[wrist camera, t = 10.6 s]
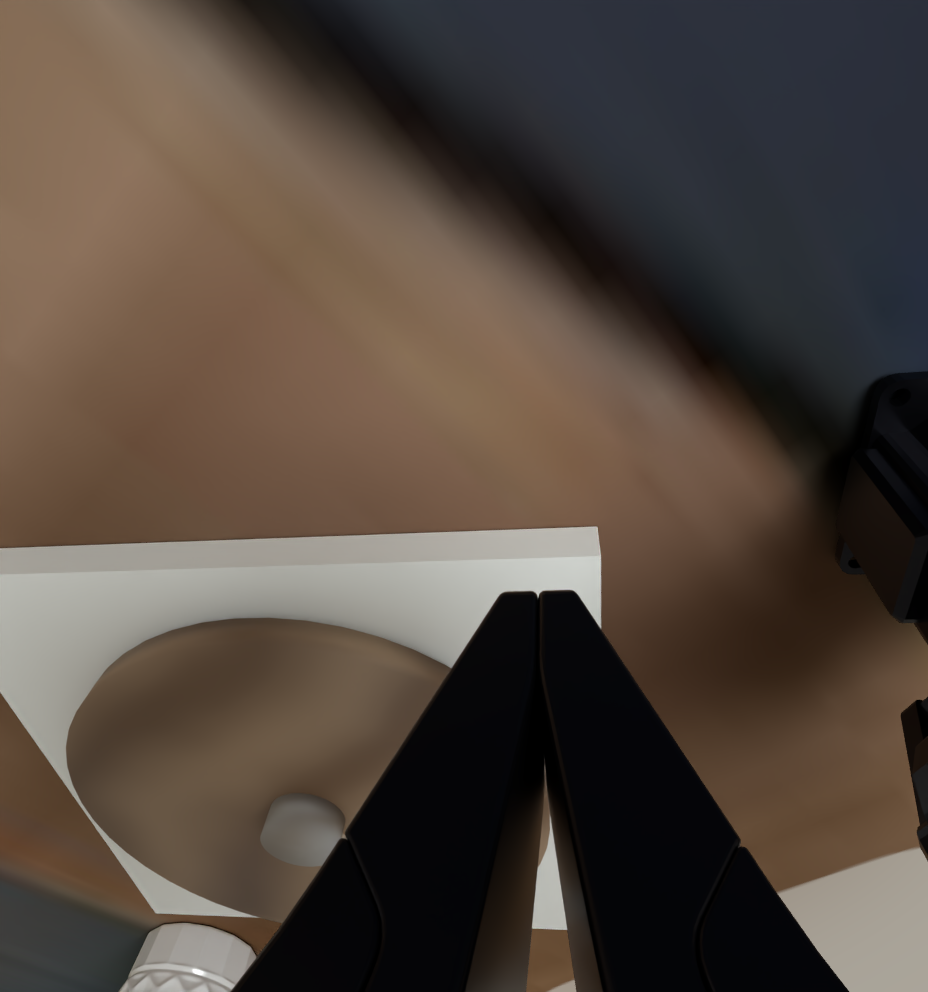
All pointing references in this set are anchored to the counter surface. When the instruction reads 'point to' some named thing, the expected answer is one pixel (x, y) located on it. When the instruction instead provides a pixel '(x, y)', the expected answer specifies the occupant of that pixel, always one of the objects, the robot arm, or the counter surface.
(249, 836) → the dial
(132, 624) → the base
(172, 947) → the white cup
